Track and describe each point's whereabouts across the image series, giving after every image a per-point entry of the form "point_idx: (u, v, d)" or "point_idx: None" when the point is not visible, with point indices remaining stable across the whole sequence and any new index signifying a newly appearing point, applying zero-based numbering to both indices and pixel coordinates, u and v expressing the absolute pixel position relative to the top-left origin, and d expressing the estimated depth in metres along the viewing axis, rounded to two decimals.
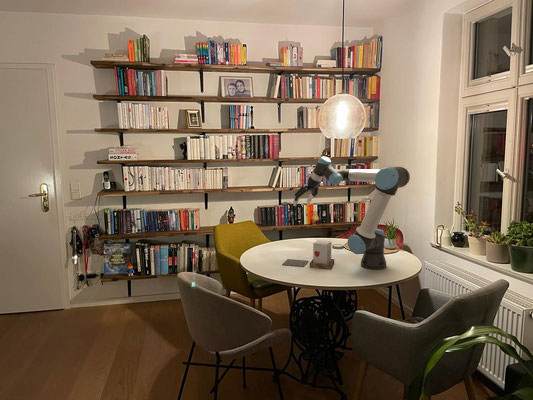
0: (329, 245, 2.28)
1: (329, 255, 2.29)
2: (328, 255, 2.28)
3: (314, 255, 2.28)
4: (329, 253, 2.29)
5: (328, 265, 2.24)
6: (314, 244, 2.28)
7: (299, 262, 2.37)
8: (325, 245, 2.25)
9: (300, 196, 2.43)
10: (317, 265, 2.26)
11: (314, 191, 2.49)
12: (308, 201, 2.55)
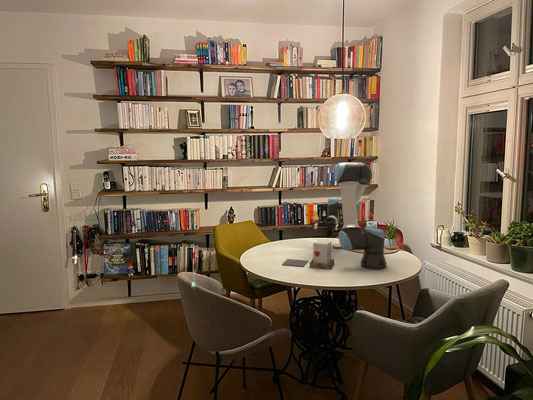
0: (329, 245, 2.28)
1: (329, 255, 2.29)
2: (328, 255, 2.28)
3: (314, 255, 2.28)
4: (329, 253, 2.29)
5: (328, 265, 2.24)
6: (314, 244, 2.28)
7: (299, 262, 2.37)
8: (325, 245, 2.25)
9: (317, 223, 2.48)
10: (317, 265, 2.26)
11: (336, 223, 2.47)
12: None
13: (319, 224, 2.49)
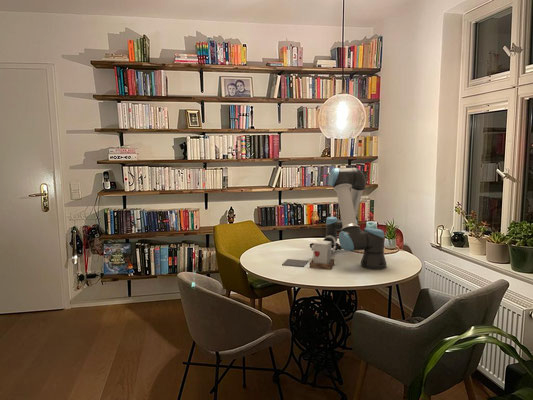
0: (329, 245, 2.28)
1: (329, 255, 2.29)
2: (328, 255, 2.28)
3: (314, 255, 2.28)
4: (329, 253, 2.29)
5: (328, 265, 2.24)
6: (314, 244, 2.28)
7: (299, 262, 2.37)
8: (325, 245, 2.25)
9: None
10: (317, 265, 2.26)
11: (334, 244, 2.44)
12: (333, 249, 2.34)
13: None
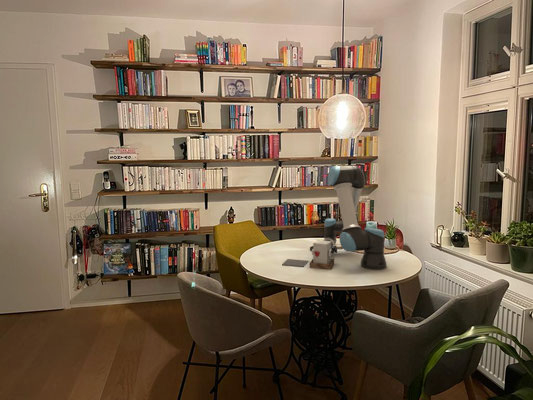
0: (329, 245, 2.28)
1: None
2: (328, 255, 2.28)
3: (314, 255, 2.28)
4: None
5: (328, 265, 2.24)
6: (314, 244, 2.28)
7: (299, 262, 2.37)
8: (325, 245, 2.25)
9: None
10: (317, 265, 2.26)
11: (331, 247, 2.35)
12: (329, 252, 2.26)
13: None
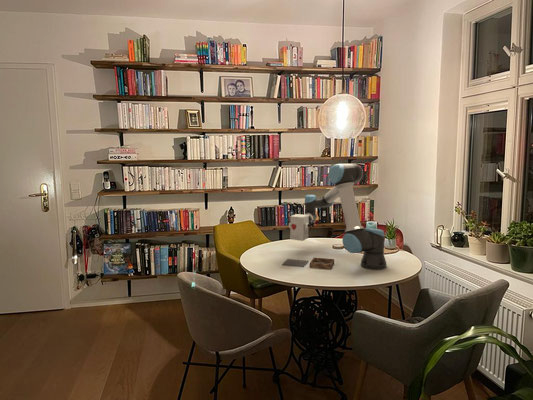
0: (306, 218, 2.32)
1: None
2: None
3: (291, 228, 2.33)
4: None
5: (328, 265, 2.24)
6: (291, 217, 2.32)
7: (299, 262, 2.37)
8: (301, 218, 2.29)
9: None
10: (317, 265, 2.26)
11: None
12: None
13: None
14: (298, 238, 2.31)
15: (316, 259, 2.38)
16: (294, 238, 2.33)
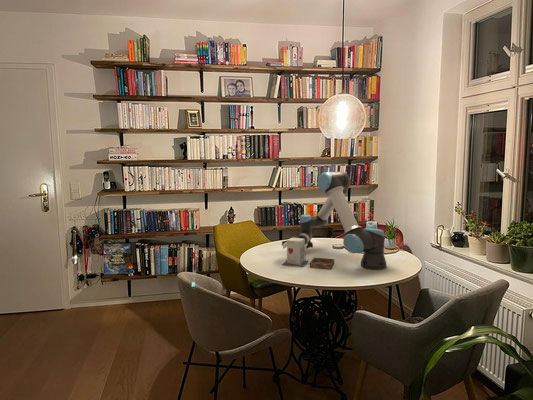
0: (302, 242, 2.34)
1: (302, 252, 2.35)
2: (302, 252, 2.34)
3: (288, 252, 2.34)
4: (302, 250, 2.34)
5: (328, 265, 2.24)
6: (288, 241, 2.33)
7: None
8: (298, 242, 2.30)
9: None
10: (317, 265, 2.26)
11: (306, 242, 2.41)
12: None
13: None
14: (295, 262, 2.32)
15: (316, 259, 2.38)
16: (291, 262, 2.34)
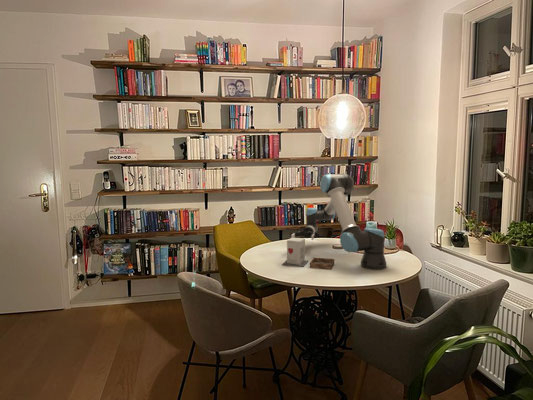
0: (302, 242, 2.34)
1: (302, 252, 2.35)
2: (302, 252, 2.34)
3: (288, 252, 2.34)
4: (302, 250, 2.34)
5: (328, 265, 2.24)
6: (288, 241, 2.33)
7: None
8: (298, 242, 2.30)
9: (295, 233, 2.55)
10: (317, 265, 2.26)
11: (312, 232, 2.54)
12: None
13: (296, 234, 2.56)
14: (295, 262, 2.32)
15: (316, 259, 2.38)
16: (291, 262, 2.34)
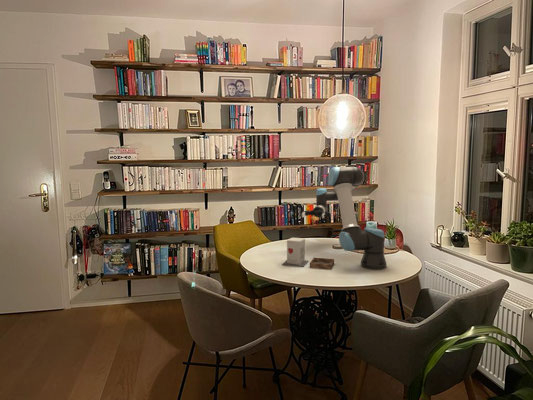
0: (302, 242, 2.34)
1: (302, 252, 2.35)
2: (302, 252, 2.34)
3: (288, 252, 2.34)
4: (302, 250, 2.34)
5: (328, 265, 2.24)
6: (288, 241, 2.33)
7: None
8: (298, 242, 2.30)
9: (305, 212, 2.57)
10: (317, 265, 2.26)
11: (323, 212, 2.56)
12: None
13: (307, 213, 2.58)
14: (295, 262, 2.32)
15: (316, 259, 2.38)
16: (291, 262, 2.34)
